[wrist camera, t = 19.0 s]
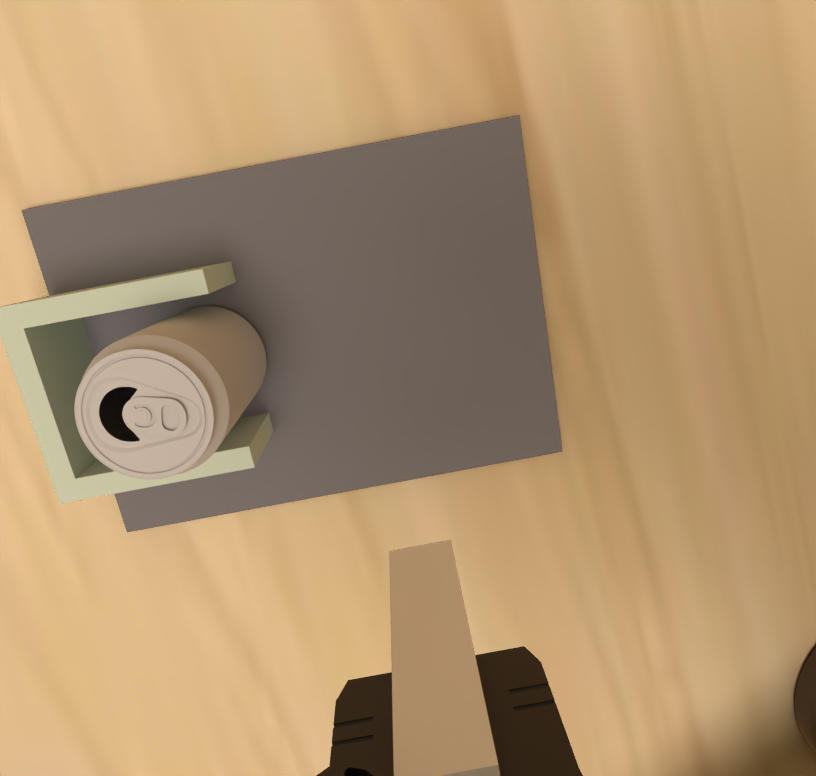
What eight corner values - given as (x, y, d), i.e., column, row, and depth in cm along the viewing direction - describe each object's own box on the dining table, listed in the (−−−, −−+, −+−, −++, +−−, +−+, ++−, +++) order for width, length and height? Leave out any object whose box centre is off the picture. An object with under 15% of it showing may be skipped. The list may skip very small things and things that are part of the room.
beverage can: (157, 301, 37) (56, 336, 25) (269, 306, 37) (220, 344, 26) (161, 407, 38) (68, 486, 27) (269, 411, 39) (223, 491, 27)
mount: (559, 448, 41) (592, 490, 34) (130, 527, 41) (84, 584, 35) (517, 116, 36) (546, 94, 29) (27, 210, 36) (-50, 208, 30)
